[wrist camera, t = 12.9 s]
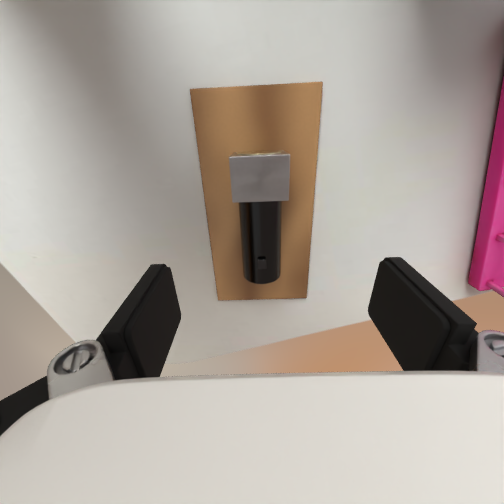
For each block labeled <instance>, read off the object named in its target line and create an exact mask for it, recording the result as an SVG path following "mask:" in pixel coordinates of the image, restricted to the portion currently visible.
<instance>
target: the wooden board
mask: <svg viewBox="0 0 504 504" xmlns="http://www.w3.org/2000/svg"><path fill="white" fill-rule="evenodd" d="M322 85H323V82H309V83H291V84H272V85H254V86H236V87H218V88H199V89H190V95H191V102H192V110H193V117H194V124H195V132H196V139H197V147H198V154H199V162H200V169H201V176H202V184H203V191H204V199H205V206H206V214H207V221H208V229H209V236H210V243H211V251H212V258H213V266H214V273H215V281H216V288H217V295H218V300H250V299H287V298H307V285H308V271H309V258H310V245H311V231H312V218H313V205H314V191H315V178H316V165H317V152H318V138H319V125H320V112H321V98H322ZM256 150H284V151H285V152H287V153H289V154H290V179H289V200H288V201H282V226H281V275H280V277H279V278H278V279H277V280H276V281H274V282H272V283H268V284H255V283H251V282H249V281H247V280H246V279H245V278H244V276H243V263H242V248H241V233H240V218H239V202H236V203H233V202H232V191H231V179H230V166H229V157H230V156H231V155H232V154H233V153H234V152H243V151H256Z"/></svg>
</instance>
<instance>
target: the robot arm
mask: <svg viewBox="0 0 504 504" xmlns="http://www.w3.org/2000/svg"><path fill="white" fill-rule="evenodd" d="M368 313H369V316H370V318H371V319H372V321H373V322H374V324H375V326H376V327H377V329H378V330H379V332H380V334H381V335H382V337H383V338H384V340H385V342H386V343H387V345H388V346H389V348H390V350H391V351H392V352H393V354H394V356H395V358H396V359H397V361H398V362H399V364H400V366H401V367H402V369H403V370H404V371H372V372H319V373H278V374H277V373H275V374H274V373H273V374H236V375H235V374H234V375H198V376H174V377H173V376H172V377H160V374H161V372H162V369H163V366H164V364H165V361H166V358H167V355H168V353H169V350H170V347H171V345H172V342H173V339H174V336H175V334H176V331H177V328H178V326H179V323H180V320H181V311H180V307H179V303H178V298H177V294H176V289H175V285H174V281H173V276H172V272H171V269H170V267H167V266H166V265H165V264H152V265H150V267H149V268H148V269H147V271H146V272H145V274H144V275H143V276H142V278H141V279H140V280H139V282H138V283H137V284H136V286H135V287H134V289H133V290H132V291H131V293H130V294H129V295H128V297H127V298H126V299H125V301H124V302H123V304H122V305H121V306H120V308H119V309H118V310H117V312H116V313H115V314H114V316H113V317H112V318H111V320H110V321H109V323H108V324H107V325H106V327H105V328H104V329H103V331H102V332H101V334H100V335H99V337H98V338H97V339H96V341H95V340H84V341H80V342H77V343H75V344H72V345H70V346H69V347H67V348H65V349H64V350H62V351H61V352H60V353H58V354H57V355H56V356H55V357H54V358H53V359H52V361H51V362H50V364H49V366H48V369H47V376H45V377H43V378H41V379H40V380H38V381H36V382H34V383H32V384H30V385H29V386H27V387H25V388H23V389H21V390H19V391H18V392H16V393H14V394H12V395H10V396H8V397H6V398H5V399H3V400H1V401H0V504H504V333H503V332H500V331H494V330H485V331H482V332H480V333H478V332H477V331H475V329H474V328H475V326H476V324H477V323H476V322H475V321H473V320H472V319H471V318H470V317H469V316H468V315H467V314H465V313H464V312H463V311H462V310H461V309H460V308H458V307H457V306H456V305H455V304H454V303H453V302H452V301H450V300H449V299H448V298H447V297H446V296H445V295H444V294H442V293H441V292H440V291H439V290H438V289H437V288H436V287H434V286H433V285H432V284H431V283H430V282H429V281H427V280H426V279H425V278H424V277H423V276H422V275H421V274H419V273H418V272H417V271H416V270H415V269H414V268H413V267H411V266H410V265H409V264H408V263H407V262H406V261H405V260H403V259H402V258H401V257H389V258H385V259H384V260H383V261H381V262H380V264H379V267H378V271H377V275H376V279H375V283H374V287H373V291H372V295H371V299H370V303H369V307H368Z"/></svg>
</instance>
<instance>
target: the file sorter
mask: <svg viewBox="0 0 504 504" xmlns="http://www.w3.org/2000/svg"><path fill="white" fill-rule="evenodd" d="M468 283H469V284H470V285H471V286H473V287H474V288H476V289H477V290H479V291H485V290H490V289H492V290H494V291H495V292H497V293H498V294H500V295H501V296H502V297H504V289H503V288H502V287H504V78H503V84H502V90H501V96H500V101H499V107H498V113H497V119H496V125H495V131H494V137H493V143H492V148H491V154H490V160H489V166H488V172H487V178H486V183H485V189H484V195H483V201H482V206H481V212H480V218H479V224H478V230H477V236H476V241H475V247H474V252H473V258H472V264H471V269H470V274H469V280H468Z"/></svg>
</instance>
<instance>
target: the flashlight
mask: <svg viewBox="0 0 504 504" xmlns="http://www.w3.org/2000/svg"><path fill="white" fill-rule="evenodd" d="M229 166H230V179H231V191H232V202H233V203H236V202H239V218H240V233H241V248H242V263H243V276H244V278H245V279H246V280H247V281H249V282H251V283H255V284H268V283H272V282H274V281H276V280H277V279H278V278H279V277H280V275H281V226H282V201H288V200H289V179H290V154H289V153H287V152H285V151H284V150H256V151H243V152H234V153H233V154H232V155H231V156H230V157H229Z"/></svg>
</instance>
